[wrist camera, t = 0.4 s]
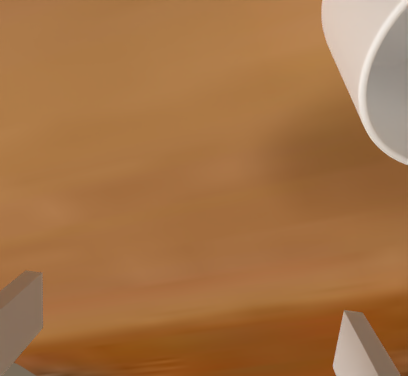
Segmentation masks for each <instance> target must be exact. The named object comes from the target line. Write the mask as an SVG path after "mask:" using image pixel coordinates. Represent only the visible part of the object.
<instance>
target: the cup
mask: <svg viewBox="0 0 408 376" xmlns="http://www.w3.org/2000/svg"><path fill="white" fill-rule="evenodd" d="M322 27H323V31H324V35H325V39H326V41H327V44H328V47H329V49H330V51H331V53H332V56H333V58H334V60H335V62H336V65H337V67H338V69H339V72H340V74H341V76H342V78H343V81H344V83H345V85H346V87H347V90H348V92H349V94H350V96H351V99H352V101H353V103H354V105H355V108H356V110H357V112H358V114H359V117H360V119H361V121H362V123H363V126H364V128H365V130H366V132H367V134H368V135H369V137H370V138H371V140H372V141H373V142H374V143H375V144H376V146H377V147H378V148H380V149H381V150H382V151H383V152H384V153H386V154H387V155H388V156H390V157H391V158H393V159H395V160H397V161H399V162H401V163H404V164H406V165H408V0H322Z"/></svg>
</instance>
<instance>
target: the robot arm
mask: <svg viewBox="0 0 408 376" xmlns="http://www.w3.org/2000/svg"><path fill="white" fill-rule="evenodd" d="M42 328H43V282H42V273H41V272H33V271H24V272H23V273H22V274H21V275H20V276H18V277H17V278H16V279H15V280H13V281H12V282H11V283H10V284H8V285H7V286H6V287H5V288H3V289H2V290H1V291H0V376H2V375H3V374H4V373H5V372H6V370H7V369H8V368H9V367H10V366H11V365H12V363H13V362H14V361H15V360H16V359H17V358H18V356H19V355H20V354H21V353H22V352H23V351H24V349H25V348H26V347H27V346H28V345H29V343H30V342H31V341H32V340H33V339H34V338H35V336H36V335H37V334H38V333H39V332H40V331H41V329H42ZM333 368H334V371H335V374H336V376H401V375H400V373H399V372H398V370H397V368H396V367H395V365H394V363H393V362H392V360H391V358H390V357H389V355H388V354H387V352H386V350H385V349H384V347H383V345H382V344H381V342H380V340H379V339H378V337H377V335H376V334H375V332H374V331H373V329H372V327H371V326H370V324H369V322H368V321H367V319H366V317H365V316H364V314H363V313H361V312H353V311H345V310H344V313H343V318H342V323H341V328H340V333H339V338H338V343H337V348H336V353H335V358H334V363H333Z"/></svg>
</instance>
